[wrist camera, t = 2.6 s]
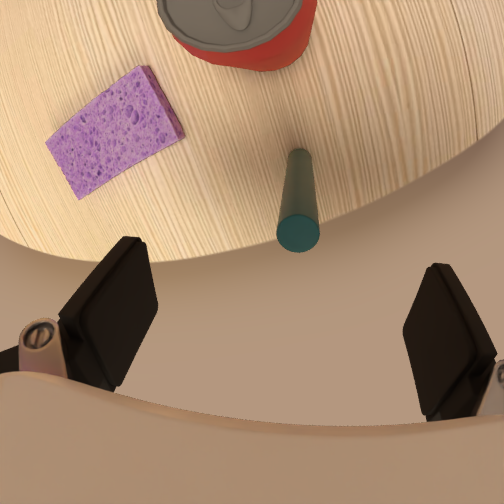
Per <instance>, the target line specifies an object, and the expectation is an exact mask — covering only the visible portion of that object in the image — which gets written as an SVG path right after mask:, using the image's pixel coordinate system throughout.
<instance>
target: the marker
mask: <svg viewBox="0 0 504 504" xmlns="http://www.w3.org/2000/svg"><path fill="white" fill-rule="evenodd" d="M276 235H277V239H278V241H279V243H280V244H281V245H282V246H283V247H284V248H285V249H287V250H289V251H291V252H299V253H300V252H305V251H308V250H310V249H311V248H313V247H314V246H315V245H316V243H317V242H318V240H319V235H320V233H319V220H318V210H317V201H316V192H315V183H314V174H313V166H312V159H311V155H310V153H309V152H308V151H306V150H305V149H301V148H298V149H294V150H293V151H291V153H290V154H289V156H288V162H287V168H286V175H285V181H284V188H283V194H282V200H281V206H280V213H279V219H278V225H277V231H276Z"/></svg>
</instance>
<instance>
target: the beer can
mask: <svg viewBox="0 0 504 504" xmlns="http://www.w3.org/2000/svg"><path fill="white" fill-rule="evenodd" d="M316 6H317V0H157V8H158V14H159V16H160V18H161V19H162V21H163V23H164V25H165V27H166V29H167V30H168V31H169V32H171V33H172V35H173V37H174V39H175V40H176V41H177V42H178V43H180V44H181V45H182V46H183V47H184V48H185V49H186V50H187V51H189V52H190V53H191V54H192V55H193V56H196V57H198V58H200V59H202V60H205V61H207V62H209V63H211V64H216V65H223V66H230V67H237V68H243V69H249V70H255V71H261V72H263V71H273V70H278V69H280V68H283V67H285V66H288V65H290V64H291V63H292V62H294V61H295V60H296V59H298V58H299V57H300V56H301V55H302V53H303V51H304V50H305V48H306V47H307V45H308V42H309V37H310V33H311V29H312V24H313V20H314V15H315V11H316Z"/></svg>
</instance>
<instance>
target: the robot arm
mask: <svg viewBox="0 0 504 504" xmlns="http://www.w3.org/2000/svg"><path fill="white" fill-rule="evenodd" d="M157 310H158V301H157V297H156V292H155V287H154V283H153V278H152V273H151V268H150V263H149V257H148V252H147V246H146V244H145V242H142V240H141V238H139V237H129V236H123V237H122V238H121V239H120V240H119V241H118V242H117V244H116V245H115V246H114V247H113V248H112V249H111V250H110V251H109V253H108V254H107V255H106V256H105V257H104V258H103V260H102V261H101V262H100V263H99V264H98V265H97V266H96V268H95V269H94V270H93V271H92V272H91V274H90V275H89V276H88V277H87V279H86V280H85V281H84V282H83V283H82V284H81V286H80V287H79V288H78V289H77V291H76V292H75V293H74V294H73V296H72V297H71V298H70V299H69V301H68V302H67V303H66V304H65V306H64V307H63V308H62V310H61V311H60V312H59V314H58V315H59V317H60V319H59V321H58V322H57V323H56V322H55V321H54V320H53V319H50V318H40V319H37V320H35V321H32V322H31V323H30V324H28V325H27V326H26V327H25V328H24V329H23V330H22V332H21V334H20V336H19V345H17V346H15V347H12V348H10V349H7V350H4V351H2V352H0V504H504V360H500V361H498V362H497V363H496V362H495V359H494V358H495V357H496V355H497V351H496V349H495V347H494V345H493V343H492V341H491V339H490V337H489V334H488V332H487V330H486V328H485V326H484V324H483V322H482V321H481V318H480V317H479V315H478V313H477V311H476V309H475V307H474V306H473V303H472V302H471V300H470V298H469V296H468V295H467V293H466V291H465V289H464V287H463V286H462V284H461V282H460V281H459V279H458V277H457V276H456V274H455V272H454V271H453V269H452V268H451V266H450V265H449V264H442V263H433V264H432V265H431V267H428V268H427V269H426V272H425V274H424V277H423V280H422V282H421V285H420V288H419V290H418V293H417V295H416V298H415V300H414V303H413V305H412V307H411V310H410V312H409V314H408V317H407V319H406V321H405V323H404V326H403V337H404V341H405V345H406V348H407V352H408V356H409V360H410V364H411V368H412V372H413V376H414V380H415V385H416V389H417V393H418V398H419V403H420V408H421V412H422V414H423V415H426V420H427V422H422V423H412V424H399V425H381V426H315V425H295V424H282V423H271V422H260V421H251V420H243V419H236V418H229V417H222V416H216V415H210V414H204V413H198V412H192V411H188V410H182V409H178V408H173V407H168V406H164V405H160V404H155V403H151V402H147V401H143V400H139V399H135V398H132V397H128V396H124V395H120V394H117V393H114V391H115V388H116V386H120V385H121V384H122V382H123V380H124V378H125V376H126V374H127V372H128V370H129V368H130V366H131V363H132V361H133V359H134V357H135V355H136V353H137V351H138V349H139V347H140V345H141V343H142V341H143V339H144V337H145V335H146V333H147V331H148V329H149V327H150V325H151V323H152V321H153V319H154V317H155V315H156V313H157Z"/></svg>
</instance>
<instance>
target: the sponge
mask: <svg viewBox="0 0 504 504" xmlns="http://www.w3.org/2000/svg"><path fill="white" fill-rule="evenodd" d="M183 138H185V135H184V133H183V130H182V128H181V126H180V124H179V122H178V120H177V118H176V116H175V114H174V112H173V110H172V109H171V107H170V105H169V102H168V101H167V99H166V97H165V95H164V93H163V91H162V90H161V89H160V87H159V85H158V84H157V81H156V79H155V76H154V74H153V73H152V71H151V70H150V68H149V66H140V65H138V66H137V67H135V68H134V69H133V70H132V71H130V72H129V73H128V74H126V75H125V76H123V77H122V78H120V79H119V80H118V81H117V82H116V83H114V84H113V85H111V87H110V88H109V89H107V90H106V91H104V92H102V93H101V94H100V95H98V96H97V97H95V98H94V99H93V100H92V101H91V102H90V103H88V104H87V105H86V106H85V107H84V108H82V109H81V110H80V111H78V112H77V113H76V114H75V115H74V116H73V117H72V118H71V119H69V121H67V122H66V123H65V124H64V125H63V126H62V127H61V128H60V129H59V130H57V131H56V132H55V133H54V134H53V135H52V136H51V137H50V138H49V139H48V140H47V141H46V142H45V143H46V145H47V147H48V149H49V151H50V152H51V154H52V156H53V157H54V159H55V161H56V162H57V164H58V166H59V167H61V170H62V171H63V174H64V175H65V176H66V180H67V181H68V182H69V184H70V185H71V188H72V190H73V192H74V194H75V195H76V197H77V198H78V200H80V199H82V198H83V197H85V196H86V195H88V194H89V193H90V192H92V191H93V190H95V189H96V188H98V187H99V186H101V185H103V184H104V183H106V182H107V181H109V180H110V179H112V178H113V177H115V176H116V175H118V174H120V173H121V172H123V171H125V170H126V169H128V168H130V167H131V166H133V165H135V164H136V163H138V162H140V161H142V160H144V159H145V158H147V157H149V156H151V155H153V154H155V153H156V152H158V151H160V150H162V149H164V148H166V147H168V146H170V145H172V144H174V143H175V142H177V141H179V140H181V139H183Z"/></svg>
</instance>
